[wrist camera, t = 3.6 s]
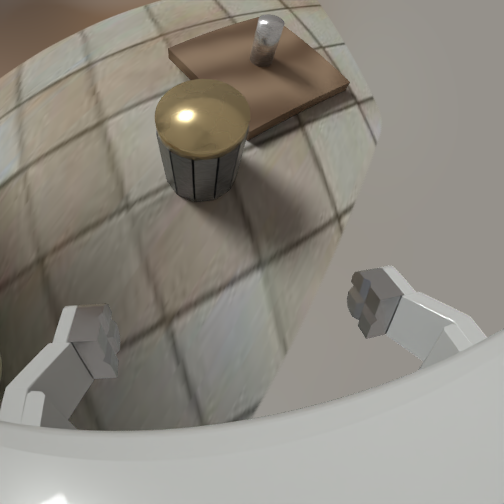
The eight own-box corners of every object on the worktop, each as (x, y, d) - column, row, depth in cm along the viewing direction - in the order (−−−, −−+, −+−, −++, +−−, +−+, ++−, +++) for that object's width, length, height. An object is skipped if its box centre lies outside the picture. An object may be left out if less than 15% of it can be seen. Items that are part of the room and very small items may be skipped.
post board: (168, 57, 27) (168, 48, 26) (266, 22, 31) (268, 14, 29) (247, 140, 27) (249, 131, 25) (344, 90, 30) (350, 82, 28)
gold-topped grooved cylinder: (153, 162, 25) (138, 105, 17) (210, 128, 26) (214, 67, 18) (192, 214, 24) (188, 169, 17) (250, 176, 26) (269, 122, 18)
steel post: (245, 56, 27) (253, 17, 22) (262, 50, 28) (272, 12, 22) (259, 69, 27) (270, 30, 22) (277, 62, 27) (289, 25, 22)
